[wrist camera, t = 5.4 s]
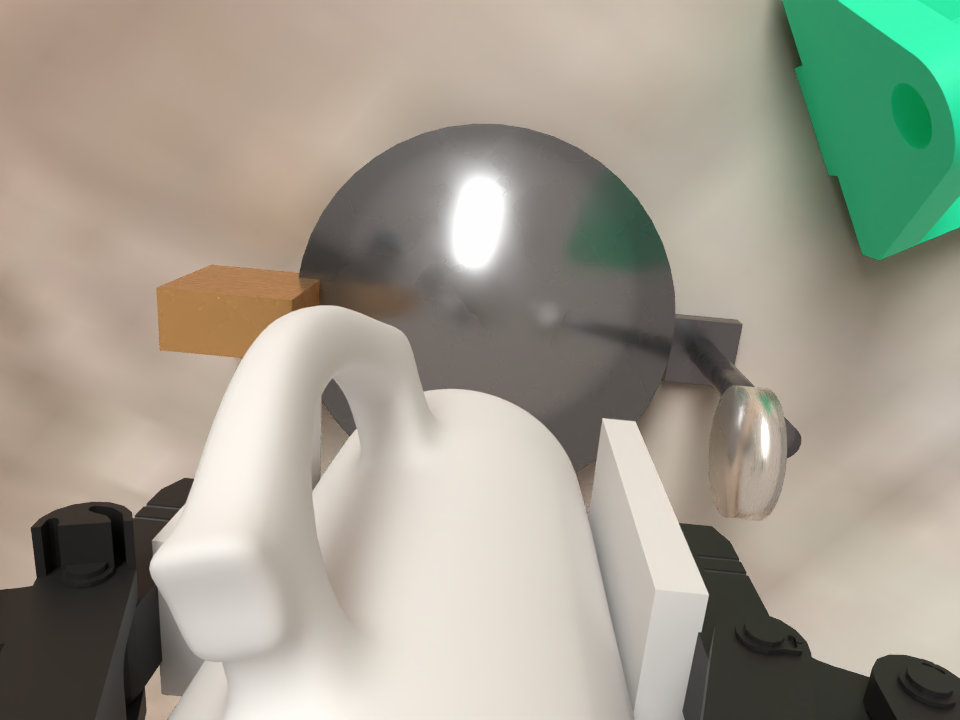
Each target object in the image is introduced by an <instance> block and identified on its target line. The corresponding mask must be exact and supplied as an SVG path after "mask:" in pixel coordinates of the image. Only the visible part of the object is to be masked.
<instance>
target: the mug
mask: <svg viewBox="0 0 960 720" xmlns="http://www.w3.org/2000/svg"><path fill="white" fill-rule="evenodd" d="M332 378H333V379H334V380H335V382H336V383H337V384H338V385H339V387H340V388H341V390H342V391H343V393H344V395H345V397H346V399H347V400H348V403H349V406H350V408H351V411H352V414H353V418H354V421H355V424H356V428H357V429H356V430H355V431H354V432H353V433H352V435H351V436H350V437H349V438H348V440H347V441H346V442H345V444H344V445H343V447H342V448H341V450H340V451H339V452H338V454H337V455H336V457H335V458H334V460H333V461H332V462H331V464H330V465H329V467H328V468H327V470H326V471H325V473H324V474H323V476H322V477H321V479H320V480H319V482H318V483H317V485H316V486H315V488H314V490H313V491H312V473H311V460H312V439H313V431H314V423H315V417H316V412H317V408H318V404H319V400H320V397H321V395H322V393H323V391H324V389H325V387H326V386H327V384H328V383H329V382H330V380H331V379H332ZM149 570H150V574H151V578H152V579H153V581H154V582H155V584H156V586H157V587H158V589H159V590H160V592H161V594H162V595H163V597H164V599H165V600H166V602H167V604H168V606H169V608H170V610H171V612H172V614H173V616H174V619H175V621H176V623H177V625H178V627H179V629H180V631H181V633H182V636H183V637H184V639H185V641H186V643H187V645H188V646H189V648H190V649H191V650H192V652H193V653H194V654H195V655H196V656H198V657H200V658H201V659H204V660H205V661H204V663H203V664H202V666H201V667H200V669H199V671H198V672H197V674H196V675H195V677H194V678H193V680H192V682H191V683H190V685H189V686H188V688H187V689H186V691H185V692H184V694H183V696H182V697H181V699H180V700H179V702H178V703H177V705H176V706H175V708H174V710H173V711H172V713H171V714H170V716H169V717H168V719H167V720H635V719H634V714H633V710H632V706H631V702H630V697H629V693H628V689H627V685H626V680H625V676H624V672H623V667H622V663H621V659H620V655H619V650H618V646H617V642H616V637H615V633H614V629H613V624H612V620H611V616H610V611H609V607H608V603H607V598H606V594H605V589H604V585H603V581H602V576H601V572H600V567H599V563H598V558H597V553H596V549H595V544H594V540H593V536H592V532H591V528H590V524H589V520H588V516H587V512H586V509H585V505H584V501H583V498H582V494H581V490H580V486H579V483H578V479H577V476H576V473H575V471H574V468H573V466H572V463H571V461H570V459H569V457H568V455H567V454H566V452H565V450H564V449H563V447H562V446H561V444H560V443H559V441H558V440H557V439H556V438H555V436H554V435H553V434H552V433H551V432H550V431H549V430H548V429H547V428H546V427H545V426H544V425H543V424H542V423H541V422H540V421H539V420H537V419H536V418H535V417H534V416H532V415H531V414H530V413H528V412H527V411H525V410H524V409H522V408H520V407H518V406H517V405H515V404H513V403H511V402H509V401H506V400H504V399H502V398H499V397H496V396H493V395H490V394H486V393H482V392H477V391H472V390H464V389H438V390H430V391H424V392H423V389H422V385H421V381H420V378H419V374H418V370H417V366H416V362H415V358H414V355H413V351H412V348H411V345H410V343H409V341H408V339H407V337H406V336H405V334H404V333H403V332H402V331H400V330H399V329H397V328H395V327H393V326H391V325H388V324H385V323H383V322H380V321H378V320H375V319H373V318H371V317H368V316H366V315H364V314H361V313H359V312H356V311H353V310H350V309H347V308H344V307H340V306H331V305H320V306H313V307H307V308H303V309H299V310H296V311H293V312H290V313H288V314H286V315H284V316H282V317H280V318H278V319H276V320H275V321H274V322H272V323H271V324H270V325H269V326H268V327H267V328H266V329H265V330H264V331H263V332H262V333H261V334H260V335H259V336H258V337H257V338H256V340H255V341H254V342H253V344H252V345H251V346H250V348H249V349H248V350H247V352H246V354H245V355H244V357H243V359H242V360H241V362H240V364H239V366H238V367H237V369H236V371H235V373H234V375H233V377H232V379H231V381H230V383H229V386H228V388H227V390H226V392H225V395H224V397H223V399H222V402H221V404H220V407H219V409H218V412H217V414H216V417H215V419H214V422H213V425H212V428H211V430H210V433H209V436H208V439H207V441H206V444H205V448H204V451H203V454H202V457H201V460H200V463H199V466H198V469H197V472H196V475H195V478H194V481H193V484H192V487H191V490H190V493H189V496H188V498H187V501H186V504H185V507H184V509H183V512H182V514H181V516H180V518H179V520H178V522H177V524H176V527H175V528H174V530H173V531H172V532H171V534H170V535H169V537H168V538H167V540H166V541H165V542H164V543H163V544H162V546H161V547H160V548H159V549H158V550H157V552H156V553H155V554H154V555H153V557H152V560H151V562H150V567H149Z"/></svg>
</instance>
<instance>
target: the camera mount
mask: <svg viewBox="0 0 960 720" xmlns="http://www.w3.org/2000/svg"><path fill="white" fill-rule="evenodd" d="M782 2H783V5H784V9H785V12H786V15H787V18H788V21H789V24H790V27H791V31H792V34H793V37H794V40H795V43H796V46H797V50H798V53H799V56H800V59H801V62H802V65H801V66H799V67H797V68H794V69H795V72H796V75H797V78H798V81H799V85H800V88H801V91H802V94H803V97H804V100H805V103H806V106H807V110H808V113H809V116H810V119H811V122H812V125H813V128H814V131H815V135H816V138H817V141H818V144H819V147H820V150H821V153H822V157H823V160H824V163H825V166H826V169H827V172H828V175H833V176H838V179H839V182H840V186H841V189H842V192H843V195H844V198H845V201H846V205H847V208H848V211H849V214H850V217H851V220H852V223H853V227H854V230H855V233H856V236H857V239H858V242H859V246H860V249H861V252H862V255H865V256H868V257H871V258H874V259H877V260H882V259H884V258H887V257H889V256H892V255H894V254H897V253H899V252H901V251H904V250H906V249H909V248H911V247H913V246H916V245H918V244H921V243H923V242H925V241H928V240H930V239H933V238H935V237H938V236H940V235H942V234H945V233H947V232H950V231H952V230H954V229H957V228H959V227H960V0H782Z"/></svg>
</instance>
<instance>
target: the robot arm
mask: <svg viewBox="0 0 960 720" xmlns="http://www.w3.org/2000/svg"><path fill="white" fill-rule="evenodd" d="M321 397H322V395H321ZM321 397H320V400H319V404H318V408H317V412H316V417H315V423H314V431H313V439H312V460H311V473H312V491H313V490H314V488H315V486H316V485H317V483H318V482H319V480H320V462H321ZM193 481H194V479H190V478H183V479H181V480H179V481H177V482H175V483H173V484H171V485H169V486H167V487H165V488H163V489H161V490H160V491H159V492H158V493H157V494H156V495H155V496H154V497H153V498H152V499H151V500H150V501H149V502H148V503H147V506H146V507H143V508H142V509H141V510H140V511H139V512H138V513H137V514H136V515H135V518H133V517H132V512H131V511H130V510H128V509H127V508H126V507H125V506H122V505H118V504H114V503H111V502H89V503H81V504H74V505H71V506H67V507H64V508H61V509H58V510H55V511H53V512H51V513H49V514H47V515H45V516H43V517H42V518H40V519H39V520H38V521H37V522H36V523H35V524H34V525H33V526H32V527H31V533H32V541H33V549H34V558H35V566H36V574H37V579H36V581H35V583H34V585H33V586H29V587H23V588H14V589H4V590H0V720H145V715H146V697H145V685H146V684H147V683H148V681H149V680H150V678H151V677H152V675H153V674H154V672H155V671H156V669H157V668H158V666H159V665H160V676H161V692H162V694H164V695H174V696H183V694H184V692H185V691H186V689H187V688H188V686H189V685H190V683H191V682H192V680H193V678H194V677H195V675H196V674H197V672H198V671H199V669H200V667H201V666H202V664H203V663H204V661H205V660H204V659H201V658H200V657H198V656H196V655H195V654H194V653H193V652H192V650H191V649H190V648H189V646H188V645H187V643H186V641H185V639H184V637H183V636H182V633H181V631H180V629H179V627H178V625H177V623H176V621H175V619H174V616H173V614H172V612H171V610H170V608H169V606H168V604H167V602H166V600H165V599H164V597H163V595H162V594H161V592H160V590H159V589H158V587H157V586H156V584H155V582H154V581H153V579H152V578H151V574H150V570H149V567H150V562H151V560H152V557H153V555H154V554H155V553H156V552H157V550H158V549H159V548H160V547H161V546H162V544H163V543H164V542H165V541H166V540H167V538H168V537H169V535H170V534H171V532H172V531H173V530H174V528H175V527H176V524H177V522H178V520H179V518H180V516H181V514H182V512H183V509H184V507H185V504H186V501H187V498H188V496H189V493H190V490H191V487H192V484H193ZM588 520H589V524H590V528H591V532H592V536H593V540H594V544H595V549H596V553H597V558H598V563H599V567H600V572H601V576H602V581H603V585H604V589H605V594H606V598H607V603H608V607H609V611H610V616H611V620H612V624H613V629H614V633H615V637H616V642H617V646H618V650H619V655H620V659H621V663H622V667H623V672H624V676H625V680H626V685H627V689H628V693H629V697H630V702H631V706H632V710H633V714H634V719H635V720H683V719H685V720H960V678H958V677H957V676H955V675H954V674H952V673H951V672H949V671H948V670H946V669H945V668H943V667H941V666H939V665H937V664H936V665H935V664H934V663H932V662H929V661H927V660H924V659H919V658H915V657H911V656H907V655H887V656H884V657H881V658H879V659H877V660H876V662H875V664H874V666H873V668H872V671H871V674H870V677H867V676H864V675H860V674H857V673H854V672H851V671H847V670H844V669H841V668H838V667H834V666H831V665H829V664H826V663H823V662H821V661H818V660H816V659H814V658H812V657H811V652H810V649H809V647H808V644H807V642H806V641H805V640H804V638H803V637H802V636H801V635H800V634H799V633H798V632H797V631H796V630H795V629H793V628H791V627H790V626H788V625H787V624H785V623H784V622H782V621H781V620H778V619H776V618H773V617H770V616H769V614H768V612H767V610H766V608H765V607H764V605H763V603H762V601H761V599H760V597H759V595H758V593H757V592H756V590H755V588H754V586H753V584H752V582H751V580H750V578H749V576H746V571H745V569H744V567H743V565H742V563H741V562H739V558H738V556H737V554H736V552H735V550H734V548H733V546H732V545H731V543H730V541H728V540H727V539H726V538H725V537H724V536H722V535H721V534H720V533H719V532H718V531H716V530H715V529H714V528H713V527H712V526H703V525H692V524H682V523H678V521H677V518H676V516H675V513H674V511H673V509H672V506H671V504H670V502H669V499H668V497H667V495H666V492H665V490H664V488H663V485H662V483H661V480H660V478H659V476H658V473H657V471H656V469H655V466H654V464H653V462H652V459H651V457H650V455H649V452H648V450H647V447H646V445H645V443H644V440H643V438H642V436H641V433H640V431H639V429H638V426H637V424H636V422H635V421H626V420H616V419H605V418H602V425H601V432H600V439H599V446H598V453H597V460H596V467H595V474H594V482H593V489H592V496H591V503H590V510H589V517H588Z"/></svg>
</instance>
